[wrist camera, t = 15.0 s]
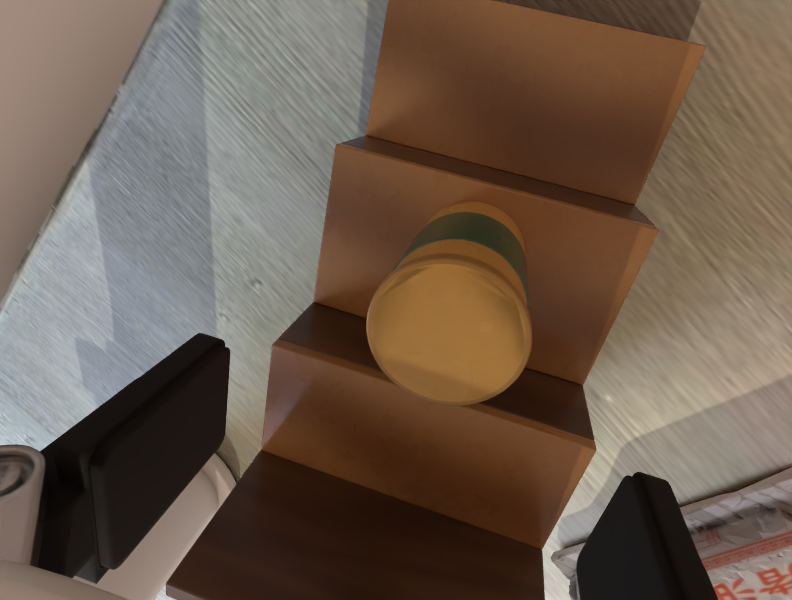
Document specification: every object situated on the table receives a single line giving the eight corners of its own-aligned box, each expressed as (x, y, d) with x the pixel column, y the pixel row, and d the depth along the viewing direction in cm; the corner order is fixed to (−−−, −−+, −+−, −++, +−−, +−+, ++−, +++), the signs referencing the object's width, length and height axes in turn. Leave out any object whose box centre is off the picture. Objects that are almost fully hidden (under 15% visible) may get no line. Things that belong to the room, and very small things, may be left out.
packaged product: (633, 693, 34) (553, 606, 33) (620, 626, 39) (549, 547, 37) (932, 638, 27) (845, 522, 25) (874, 562, 31) (797, 458, 29)
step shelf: (406, -10, 24) (143, -242, 7) (684, 50, 22) (1191, -67, 6) (340, 344, 34) (164, 596, 17) (530, 404, 32) (544, 750, 15)
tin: (430, 185, 20) (382, 236, 13) (543, 216, 20) (558, 287, 13) (405, 287, 23) (353, 378, 15) (506, 317, 22) (501, 426, 15)
